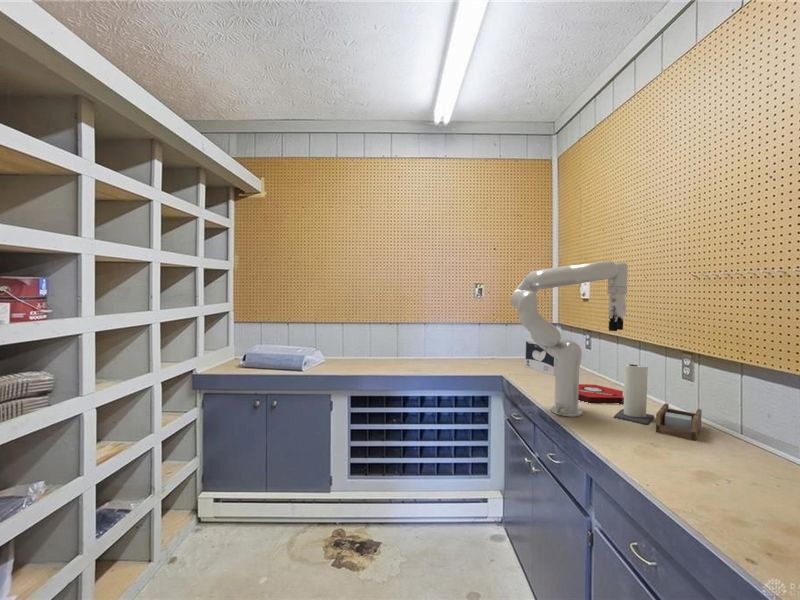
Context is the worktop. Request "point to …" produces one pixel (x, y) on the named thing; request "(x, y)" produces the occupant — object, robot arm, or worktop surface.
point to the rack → (677, 431)
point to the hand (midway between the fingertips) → (615, 330)
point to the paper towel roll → (635, 390)
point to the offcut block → (678, 421)
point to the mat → (634, 418)
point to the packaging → (539, 358)
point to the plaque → (599, 394)
